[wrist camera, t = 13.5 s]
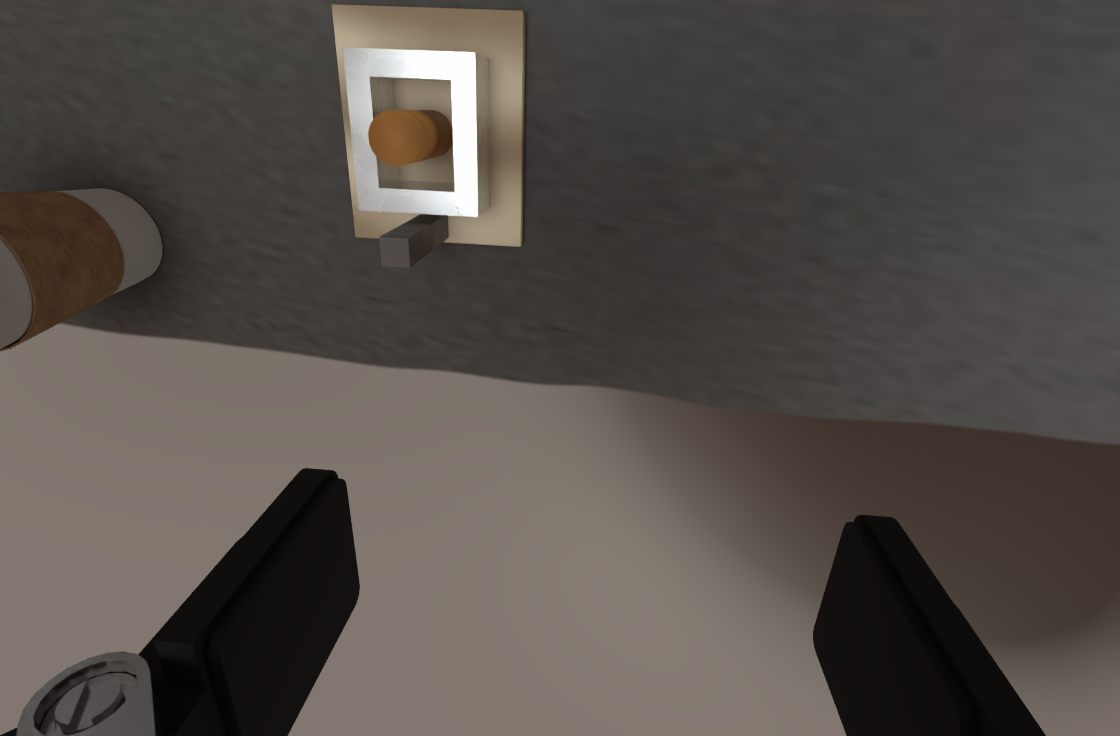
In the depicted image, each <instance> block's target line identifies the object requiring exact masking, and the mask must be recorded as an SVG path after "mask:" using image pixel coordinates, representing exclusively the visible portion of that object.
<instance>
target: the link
mask: <svg viewBox="0 0 1120 736" xmlns="http://www.w3.org/2000/svg"><path fill="white" fill-rule="evenodd" d="M343 56H344V67H345V77H346V87H347V97H348V107H349V117H350V127H351V137H352V148H353V158H354V168H355V178H356V188H357V198H358V208H359V210H360V211H378V212H396V213H414V214H432V215H450V216H468V217H479V216H480V215H481V214H483V213H484V212H485V211H486V210H488V209H489V208H490V207H491V152H490V58H488V57H486V56H483V55H480V54H478V53H475V52H451V51H425V50H399V49H373V48H347V47H343ZM394 80H415V81H440V82H451V96H452V126H453V157H454V183H440V182H421V181H402V180H401V169H400V167H395V166H390V165H387V164H385V163H383V162H382V161H380V160H379V159H378V158H377V157H376V156H375V154H374V153H373V151H372V149H371V147H370V144H369V139H368V131H369V127H370V124H371V122H372V120H373V119H374V118H375V117H376V116H377V115H378V114H380V113H381V112H384V111H390V110H396V96H395V82H394Z"/></svg>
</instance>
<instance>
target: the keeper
mask: <svg viewBox="0 0 1120 736" xmlns="http://www.w3.org/2000/svg"><path fill="white" fill-rule="evenodd" d="M332 13H333V22H334V32H335V42H336V51H337V61H338V71H339V81H340V90H341V100H342V110H343V119H344V129H345V139H346V148H347V158H348V168H349V177H350V187H351V197H352V206H353V216H354V226H355V235H356V237H361V238H379V241H380V252H381V264H382V266H390V267H407V268H410V267H412V266H413V265H414V264H416V263H417V262H418V261H419V260H421V259H422V258H423V257H424V256H426V255H427V254H428V253H430V252H431V251H432V250H433V249H435V248H436V247H437V246H439V245H440V244H441V243H442V242H448V243H465V244H482V245H499V246H516V247H521V245H522V244H523V170H524V92H525V15H526V13H525V12H524V11H514V10H484V9H453V8H423V7H393V6H362V5H332ZM343 47H347V48H373V49H399V50H425V51H451V52H475V53H478V54H480V55H483V56H486V57H488V58H490V152H491V207H490V208H489V209H488V210H486V211H485V212H484V213H483V214H481V215H480V216H479V217H468V216H450V215H432V214H414V213H396V212H378V211H360V210H359V208H358V198H357V188H356V178H355V168H354V158H353V148H352V137H351V127H350V117H349V107H348V97H347V87H346V77H345V67H344V56H343ZM394 82H395V96H396V110H390V111H384V112H381V113H380V114H378V115H377V116H376V117H375V118H374V119H373V120H372V122H371V124H370V127H369V131H368V139H369V144H370V147H371V149H372V151H373V153H374V154H375V156H376V157H377V158H378V159H379V160H380V161H382V162H383V163H385V164H387V165H390V166H395V167H400V169H401V180H402V181H421V182H440V183H454V157H453V126H452V96H451V82H440V81H415V80H394Z"/></svg>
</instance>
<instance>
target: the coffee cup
mask: <svg viewBox="0 0 1120 736" xmlns="http://www.w3.org/2000/svg"><path fill="white" fill-rule="evenodd" d="M162 250H163V247H162V240H161V236H160V233H159V230H158V228H157V226H156V224H155V222H154V221H153V219H152V218H151V216H150V215H149V214H148V212H147V211H146V210H145V209H144V208H143V207H142V206H141V205H140V204H139V203H137V202H136V201H135V200H133V199H132V198H130V197H128V196H127V195H125V194H123V193H120V192H118V191H115V190H111V189H104V188H100V189H83V190H68V191H32V192H4V193H0V351H3V350H7V349H11V348H12V347H15V346H16V345H18V344H20V343H22V342H24V341H26V340H28V339H30V338H32V337H34V336H36V335H37V334H39V333H41V332H43V331H45V330H47V329H49V328H51V327H53V326H55V325H57V324H59V323H61V322H62V321H64V320H66V319H68V318H70V317H72V316H74V315H76V314H78V313H80V312H82V311H84V310H85V309H87V308H89V307H91V306H93V305H95V304H97V303H99V302H101V301H103V300H105V299H106V298H108V297H110V296H112V295H113V294H115V293H117V292H119V291H122V290H124V289H126V288H128V287H130V286H132V285H134V284H136V283H138V282H140V281H142V280H144V279H146V278H147V277H149V276H151V275H152V274H153V273H154V272H155V271H156V270H157V268H158V266H159V264H160V262H161V258H162Z"/></svg>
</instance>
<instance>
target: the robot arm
mask: <svg viewBox="0 0 1120 736" xmlns="http://www.w3.org/2000/svg"><path fill="white" fill-rule="evenodd" d="M359 590H360V584H359V576H358V569H357V562H356V553H355V546H354V538H353V531H352V524H351V516H350V508H349V501H348V493H347V486H346V482H345V481H344V480H343V479H338V475H337V474H336V472H335V471H333V470H321V469H309V468H305V469H302V470H301V471H300V472H299V473H298V474H297V475H296V476H295V477H294V478H293V480H292V481H291V482H290V483H289V484H288V485H287V486H286V488H285V489H284V490H283V491H282V492H281V493H280V494H279V496H278V497H277V498H276V499H275V500H274V502H273V503H272V504H271V505H270V506H269V507H268V508H267V510H266V511H265V512H264V513H263V514H262V515H261V516H260V518H259V519H258V520H257V521H256V522H255V523H254V524H253V526H252V527H251V528H250V529H249V530H248V532H247V533H246V534H245V535H244V536H243V537H242V538H241V539H239V540H238V541H237V542H236V543H235V544H234V546H233V547H232V548H231V549H230V550H229V551H228V552H227V553H226V555H225V556H224V557H223V558H222V559H221V560H220V562H219V563H218V564H217V565H216V566H215V567H214V568H213V570H212V571H211V572H210V573H209V574H208V575H207V576H206V578H205V579H204V580H203V581H202V582H201V583H200V584H199V586H198V587H197V588H196V589H195V590H194V591H193V592H192V594H191V595H190V596H189V597H188V598H187V599H186V601H185V602H184V603H183V604H182V605H181V606H180V607H179V609H178V610H177V611H176V612H175V613H174V615H173V616H172V617H171V618H170V619H169V620H168V621H167V622H166V623H165V625H164V626H163V627H162V628H161V629H160V630H159V632H158V633H157V634H156V635H155V636H154V637H153V638H152V640H151V641H150V642H149V643H148V644H147V645H146V646H145V648H144V649H143V650H142V651H141V652H140V653H139V654H134V653H129V652H112V653H105V654H101V655H98V656H95V657H91V658H88V659H86V660H84V661H81V662H79V663H77V664H75V665H73V666H71V667H69V668H67V669H66V670H64V671H63V672H61V673H59V674H58V675H57V676H55V677H54V678H52V679H51V680H49V681H48V682H47V683H46V684H45V685H44V686H43V687H42V688H41V689H39V690H38V691H37V692H36V693H35V694H34V695H33V697H32V698H31V699H30V701H29V702H28V704H27V705H26V706H25V708H24V709H23V711H22V714H21V717H20V720H19V723H18V727H17V728H15V729H13V730H11V731H9V732H7V733H5V734H2V735H0V736H288V734H289V732H290V730H291V728H292V726H293V724H294V722H295V720H296V719H297V717H298V715H299V713H300V711H301V709H302V707H303V705H304V703H305V701H306V699H307V697H308V695H309V694H310V691H311V690H312V687H313V686H314V684H315V682H316V680H317V678H318V676H319V674H320V672H321V671H322V669H323V667H324V665H325V663H326V661H327V659H328V657H329V655H330V653H331V651H332V649H333V648H334V645H335V643H336V642H337V640H338V638H339V636H340V634H341V632H342V630H343V628H344V626H345V624H346V623H347V621H348V619H349V617H350V615H351V613H352V611H353V609H354V607H355V605H356V603H357V600H358V596H359ZM813 642H814V648H815V651H816V654H817V656H818V659H819V662H820V665H821V668H822V670H823V673H824V676H825V678H826V681H827V684H828V686H829V689H830V692H831V695H832V697H833V700H834V703H835V705H836V708H837V711H838V714H839V716H840V719H841V722H842V724H843V727H844V730H845V732H846V735H847V736H1046V735H1045V734H1044V733H1043V731H1042V730H1041V728H1040V726H1039V725H1038V723H1037V722H1036V721H1035V719H1034V718H1033V716H1032V715H1031V713H1030V712H1029V710H1028V709H1027V707H1026V706H1025V705H1024V703H1023V702H1022V700H1021V699H1020V697H1019V696H1018V694H1017V693H1016V692H1015V690H1014V689H1013V687H1012V686H1011V684H1010V683H1009V681H1008V680H1007V678H1006V677H1005V675H1004V674H1003V672H1002V671H1001V670H1000V668H999V667H998V665H997V664H996V662H995V661H994V659H993V658H992V657H991V655H990V654H989V652H988V651H987V649H986V648H985V646H984V645H983V644H982V642H981V640H980V639H979V638H978V636H977V635H976V633H975V632H974V630H973V629H972V627H971V626H970V624H969V623H968V621H967V620H966V619H965V617H964V616H963V614H962V613H961V611H960V610H959V609H958V608H957V606H956V605H955V604H954V603H953V601H952V600H951V599H950V597H949V596H948V594H947V593H946V591H945V590H944V588H943V587H942V585H941V584H940V582H939V581H938V580H937V578H936V577H935V575H934V574H933V572H932V571H931V569H930V568H929V567H928V565H927V564H926V562H925V561H924V559H923V558H922V556H921V555H920V553H919V552H918V550H917V549H916V547H915V546H914V544H913V543H912V542H911V540H910V539H909V537H908V536H907V534H906V533H905V532H904V530H903V528H902V527H901V525H900V524H899V523H898V522H897V520H896V519H894V518H892V517H883V516H871V515H858V516H857V517H856V518H855V520H854V522H847V523H846V524H845V526H844V528H843V531H842V535H841V538H840V541H839V545H838V548H837V552H836V555H835V558H834V562H833V565H832V569H831V572H830V575H829V579H828V582H827V585H826V589H825V592H824V595H823V599H822V602H821V606H820V609H819V612H818V616H817V619H816V622H815V626H814V631H813Z"/></svg>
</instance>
